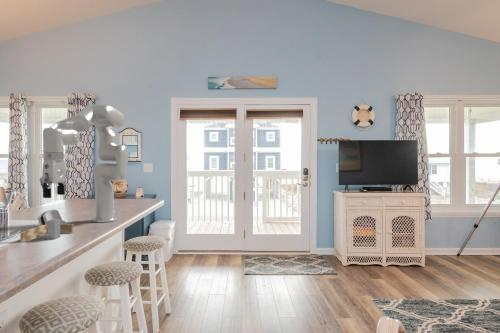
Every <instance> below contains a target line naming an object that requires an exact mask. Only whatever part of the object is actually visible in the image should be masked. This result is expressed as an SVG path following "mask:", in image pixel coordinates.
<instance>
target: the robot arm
mask: <svg viewBox="0 0 500 333" xmlns="http://www.w3.org/2000/svg"><path fill="white" fill-rule="evenodd" d="M124 124H125V115H124V114H123V113H122V112H121V111H119V110H118V109H116V108H115V107H113V106H111V105H109V104H89V105H87V106H85V107H84V108H82V109H81V110H80V111H79V112H77V113H76V114H75V115H73V116H70V117H67V118H65V119H62V120H59V121H57V122H55V123H53V124H52V125H50V126H49V127H45V128H43V130H42V144H43V145H42V149H43V150H42V151H43V152H42V153H43V154H42V155H43V163H42V175H41V177H39V182H40V186H41V189H42V197H43V199H52V184H57V186H56V195H57V196H59V195H60V196H61V195H62V196H64V195H66V187H65V186H66V182H67V177H68V176H67V171H66V163H65V160H64V157H65V156H64V146H75V145H77V144H78V143H79V141H80V138H81V136H80V134H79V133H81V132H85V131H87V130H89V129H90V128H91V127H92V126H93V125H94V127H95V128H96V130H97V132H98V136H99V137H98V138H99V140H98V148H97V149H98V151H97V157H98V159H99V160H100V161H102V162H106V163H98V164H96V165H95V166H94V167H93V170H92V174H93V178H94V179H93V180H94V217H92V219H91V221H92V222H93V223H107V222H108V223H110V222H114V221H116V220H118V219H117V217H116V216H115V214H116V210H114V209H115V204H114V203H115V197H114V196H115V190H114V186H113V183H112V182H122V181H124V180H126V178H127V173H128V165H129V150H128V147H127V146H126V145H124V144H122V143H121V144H119V143H118V144H117V143H116V140H117V137H116V136H117V135H116V134H115V132H114V130H113V129H112V128H121V127H123V125H124ZM107 162H108V163H107ZM109 162H116V163H109Z"/></svg>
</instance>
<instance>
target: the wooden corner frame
mask: <svg viewBox="0 0 500 333" xmlns="http://www.w3.org/2000/svg"><path fill="white" fill-rule="evenodd" d="M42 233H47V234H48V224H45V225H42V226H40V225H38V226H37V227H33V228H29V229H26V230H24V231H21V232H20V243H25V242H26V241H29V240H33V239H36V236H37V235H39V234H42ZM73 233H74V224H73V223H66V224H60V234H73Z"/></svg>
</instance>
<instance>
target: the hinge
mask: <svg viewBox="0 0 500 333" xmlns="http://www.w3.org/2000/svg"><path fill="white" fill-rule="evenodd" d="M52 219H60V224H67V222H66V221H65V220H63V219H62V216H61V213H60V212H59V210H56V209H50V210H47V211H44V212H42V213H41V214H39V216H38V217H37V220H38V224H39V226H42V225H45V224H48V221H49V220H52Z"/></svg>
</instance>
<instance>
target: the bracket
mask: <svg viewBox="0 0 500 333" xmlns="http://www.w3.org/2000/svg"><path fill="white" fill-rule="evenodd" d="M59 238H61V233H60V219H52V220H49V221H48V233H42V234H39V235H37V236H36V238H35V239H36V240H57V239H59Z"/></svg>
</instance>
